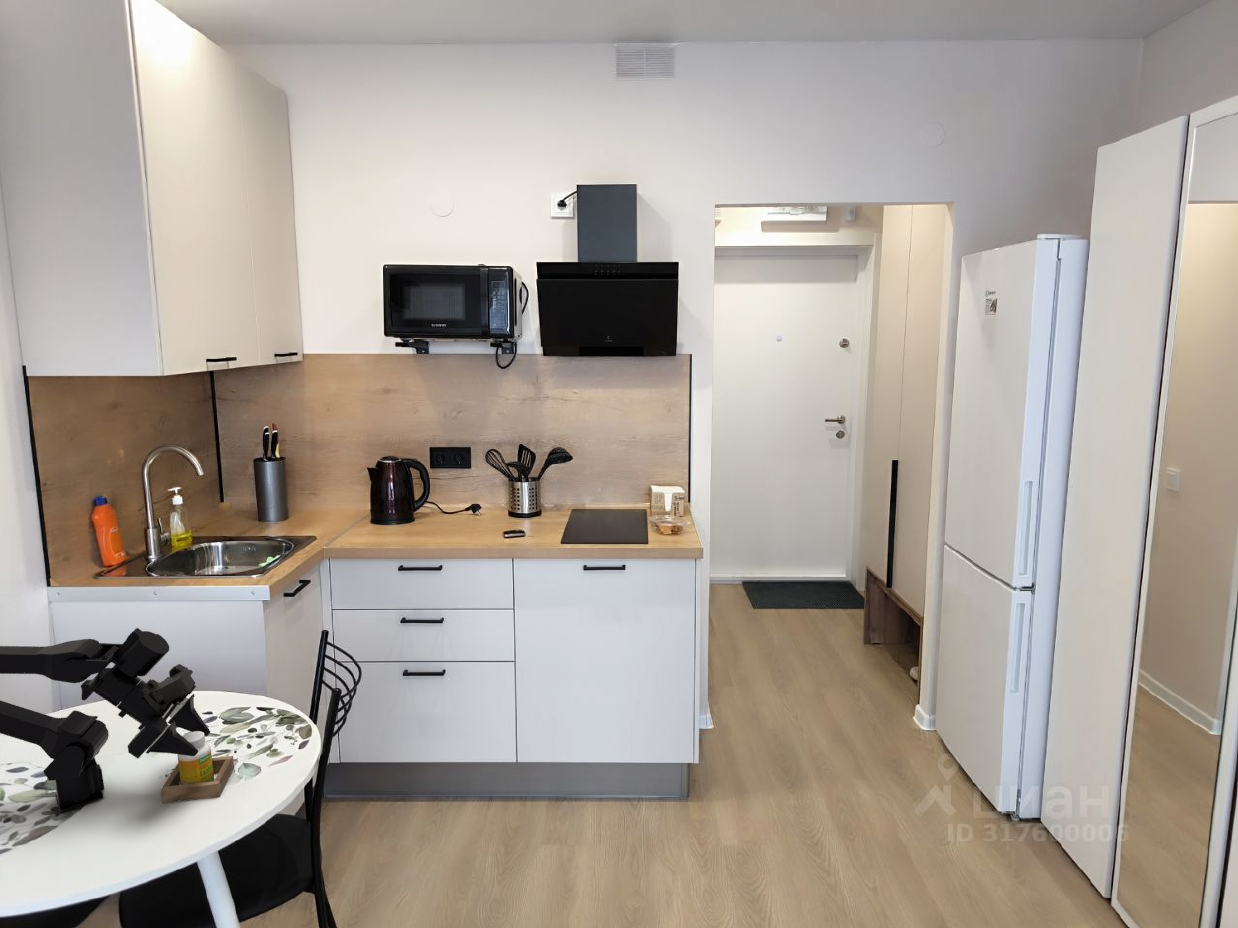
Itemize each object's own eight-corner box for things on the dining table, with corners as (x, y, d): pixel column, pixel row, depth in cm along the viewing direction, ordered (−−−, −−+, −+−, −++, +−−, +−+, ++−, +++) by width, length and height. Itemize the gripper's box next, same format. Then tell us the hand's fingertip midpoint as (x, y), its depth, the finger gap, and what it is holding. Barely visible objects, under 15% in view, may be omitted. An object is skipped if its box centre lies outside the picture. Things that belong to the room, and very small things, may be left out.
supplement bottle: (205, 793, 145) (198, 744, 143) (175, 793, 145) (169, 744, 143) (220, 776, 150) (214, 728, 148) (191, 776, 150) (185, 728, 149)
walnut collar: (162, 802, 142) (160, 790, 142) (180, 773, 151) (179, 761, 151) (219, 796, 144) (218, 783, 143) (234, 767, 153) (233, 755, 153)
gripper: (139, 683, 133) (217, 737, 137) (178, 639, 152) (246, 688, 156) (93, 732, 134) (173, 784, 137) (138, 682, 152) (207, 730, 156)
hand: (202, 743), depth 146 cm, fingers open, 7 cm apart
